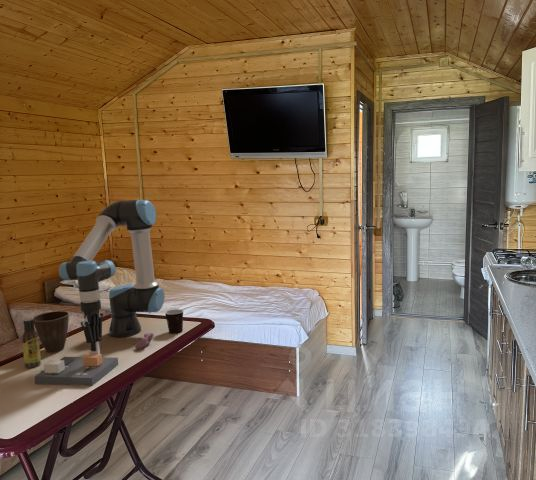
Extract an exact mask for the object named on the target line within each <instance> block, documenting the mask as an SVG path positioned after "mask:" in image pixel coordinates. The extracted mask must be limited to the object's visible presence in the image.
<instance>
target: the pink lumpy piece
mask: <svg viewBox="0 0 536 480" xmlns="http://www.w3.org/2000/svg"><path fill="white" fill-rule="evenodd" d="M154 335H155V334H154V333H153V332H150V331H149V332H147V333H145V334H143V336H142V337H141V338H140V340H139V341H138V342H137V343H136V344H135V346H134V348H135V350H141V349H142V348H146V347H147V346H149V345H150V343H151V342H152V340H153V338H154Z"/></svg>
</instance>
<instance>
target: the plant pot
mask: <svg viewBox="0 0 536 480" xmlns="http://www.w3.org/2000/svg"><path fill="white" fill-rule="evenodd" d="M69 315H70V314H69V312H68V311H65V310H58V311H57V310H56V311H48V312H45V313H40V314H38V315H36V316H34V317H33V319H34V329H35V331H36V332H37V334H38V337H39V342H40V343H41V344H42V346H43V348H44V350H45V352H46V353H49V354H51V353H52V354H53V353H58V352H61V351H63V350H64V348H65V345H66V341H67V336H68V330H69V329H68V328H69Z"/></svg>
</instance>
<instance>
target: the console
mask: <svg viewBox="0 0 536 480" xmlns="http://www.w3.org/2000/svg"><path fill="white" fill-rule="evenodd" d="M83 357H84V356H64V357H62V358H60V359H59V360H64V364H65V369H64V370H63V371H61V372H60V373H45V370H42V371H40V372H38V373H37V374H36V375H34V383H35V385H36V384H37V385H63V386H94V385H95V384H97V383H98V382H99V381H100V380H101V379H103V378H104V377H105V376H106V375H107V374H109V373H110V372H112V371H113V369H115V368H116V367H118V366H119V357H106V356H102V360H103V363H101V364H100V365H99V366H84V365H83Z"/></svg>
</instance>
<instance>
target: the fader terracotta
mask: <svg viewBox="0 0 536 480" xmlns="http://www.w3.org/2000/svg"><path fill="white" fill-rule="evenodd" d="M82 357H83V365H84V366H99V365H100V364H101V363H103V360H102V357H103V353H100V354H92V353H87V354H86V355H84V356H82Z"/></svg>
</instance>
